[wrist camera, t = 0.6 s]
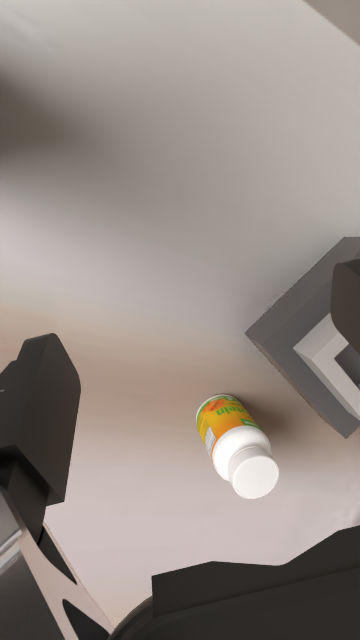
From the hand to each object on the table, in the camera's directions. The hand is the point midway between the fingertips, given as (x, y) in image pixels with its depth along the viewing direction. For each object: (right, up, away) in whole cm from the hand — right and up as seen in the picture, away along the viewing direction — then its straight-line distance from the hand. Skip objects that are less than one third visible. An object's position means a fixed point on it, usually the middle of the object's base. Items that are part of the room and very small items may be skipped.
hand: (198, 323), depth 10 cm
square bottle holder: (+16, -1, +26) cm, 31 cm away
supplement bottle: (+4, -10, +26) cm, 28 cm away
